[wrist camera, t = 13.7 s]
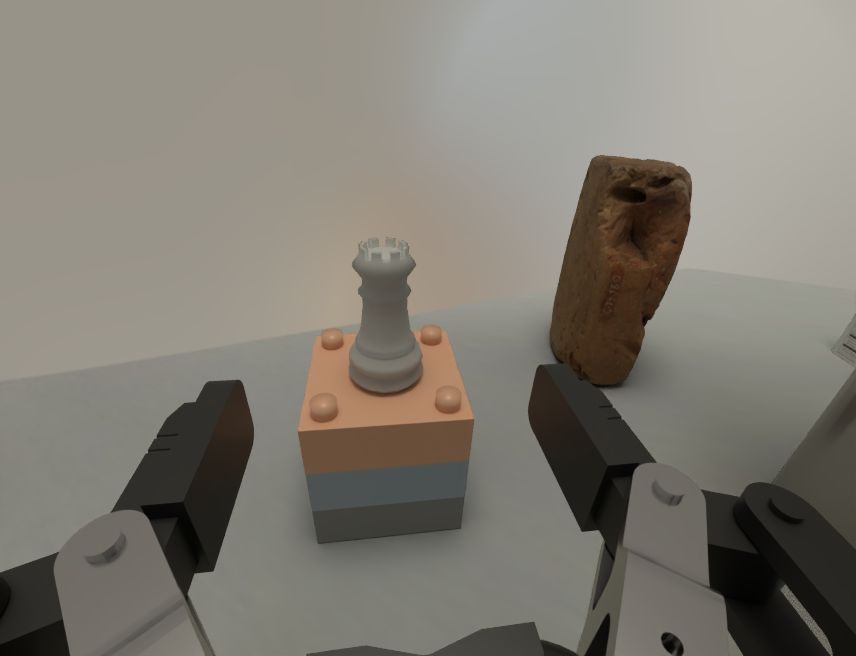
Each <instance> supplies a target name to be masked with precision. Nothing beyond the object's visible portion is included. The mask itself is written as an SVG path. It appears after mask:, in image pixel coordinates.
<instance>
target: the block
mask: <svg viewBox="0 0 856 656" xmlns="http://www.w3.org/2000/svg"><path fill="white" fill-rule="evenodd" d="M691 195H692V182H691V177H690V174H689V173H688V172H687V171H686V169H684V168H683V167H681V166H676V165H675V164H673V163H670V162H664V161H657V160H649V159H647V160H640V159H630V158H624V157H616V156H604V155H600V156H596V157H594V158H593V159H592V160H591V162H590V165H589V168H588V171H587V174H586V178H585V180H584V184H583V188H582V191H581V194H580V198H579V202H578V206H577V209H576V213H575V216H574V220H573V223H572V227H571V232H570V236H569V239H568V244H567V247H566V252H565V255H564V260H563V265H562V269H561V274H560V278H559V283H558V288H557V292H556V296H555V301H554V307H553V314H552V323H551V329H550V342H551V345H552V349H553V352H554V354H555V356H556V357H557V358H558V359H559V360H561V361H562V362H563V363H564V364H568V365H569V366H570V368H571V369H572V370H573V372H574V373H575V374H576V376H577V377H578V378H580V379H582V380H586V381H588V382H589V383H592V384H599V385H607V384H617V383H620V382H622V381H624V380H625V379H626V378H627V376H628V375H629V373H630V371H631V370H632V368H633V366H634V363H635V361H636V359H637V357H638V353H639V352H640V350H641V345H642V341H643V338H644V336H645V329H644V326H645V325H646V324H647V321H648V320H650V319H651V318H652V317H653V315H654V314H655V311H656V309H657V308H658V307H659V304H660V302H661V300H662V298H663V296H664V294H665V292H666V290H667V287H668V285H669V283H670V281H671V279H672V277H673V274H674V272H675V269H676V266H677V263H678V260H679V256H680V254H681V251H682V248H683V245H684V241H685V238H686V235H687V231H688V226H689V222H690V202H691Z"/></svg>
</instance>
